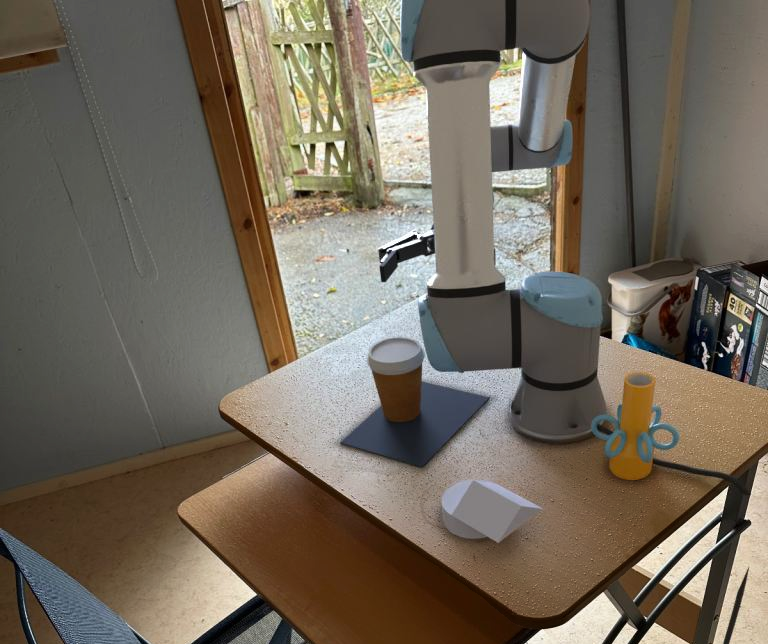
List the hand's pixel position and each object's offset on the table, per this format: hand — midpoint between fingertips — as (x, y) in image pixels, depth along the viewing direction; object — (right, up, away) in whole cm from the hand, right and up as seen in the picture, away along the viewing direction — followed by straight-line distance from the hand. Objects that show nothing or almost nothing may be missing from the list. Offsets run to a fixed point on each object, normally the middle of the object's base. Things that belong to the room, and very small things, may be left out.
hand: (422, 275), depth 124 cm
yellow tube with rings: (+30, -32, -10) cm, 45 cm away
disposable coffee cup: (-3, -21, +9) cm, 23 cm away
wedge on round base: (+8, -40, -15) cm, 43 cm away
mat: (-1, -22, +7) cm, 23 cm away
